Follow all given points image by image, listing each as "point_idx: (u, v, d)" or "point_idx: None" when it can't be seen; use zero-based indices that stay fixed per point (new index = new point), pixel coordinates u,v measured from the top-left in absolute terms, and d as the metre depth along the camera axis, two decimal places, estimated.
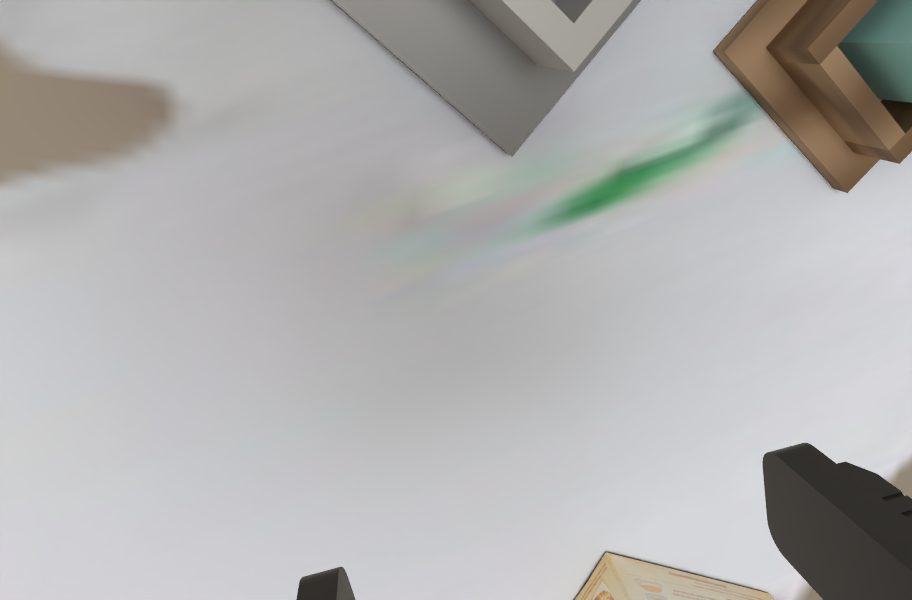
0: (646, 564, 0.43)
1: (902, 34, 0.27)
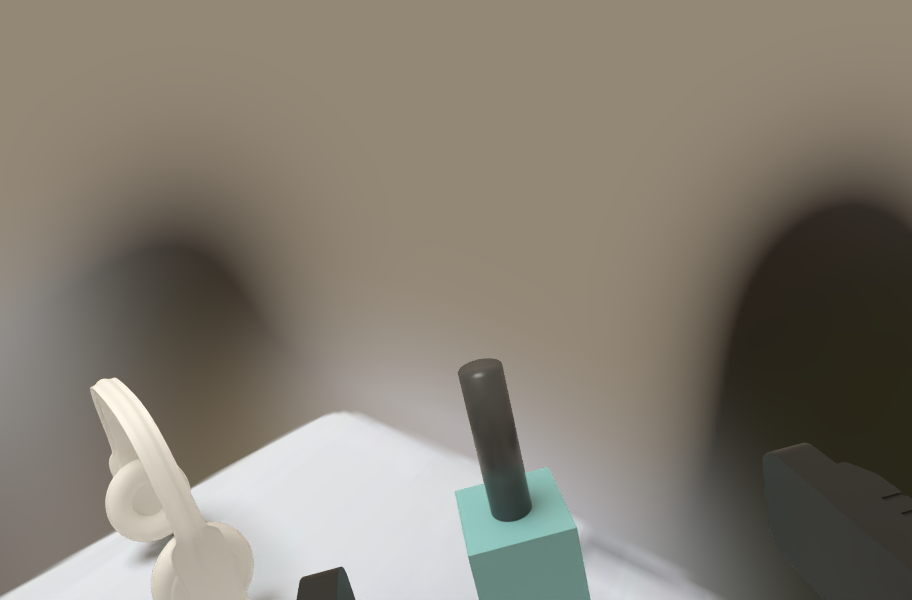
0: None
1: None
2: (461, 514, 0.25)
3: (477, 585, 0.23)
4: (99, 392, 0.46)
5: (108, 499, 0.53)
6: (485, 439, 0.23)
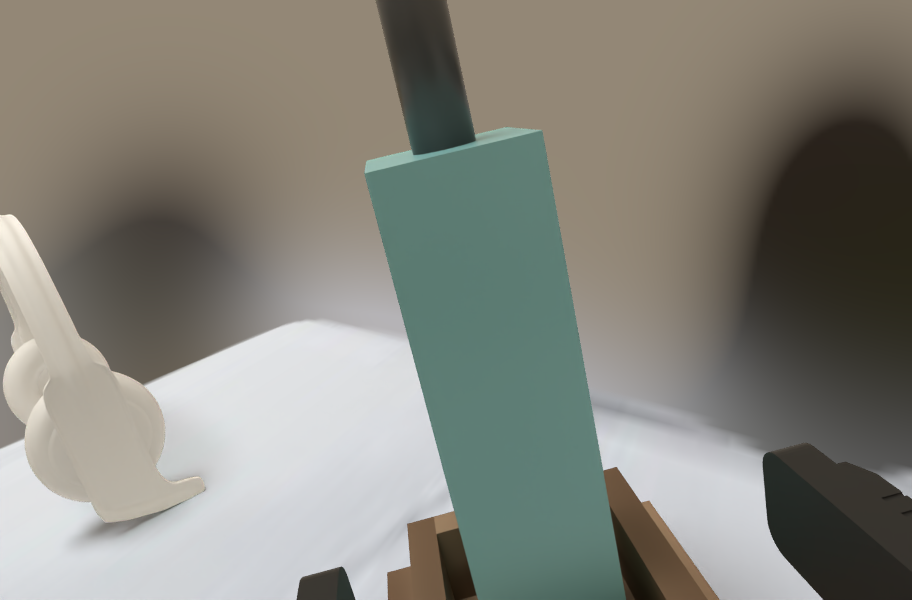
0: None
1: None
2: (368, 164, 0.16)
3: (383, 232, 0.14)
4: None
5: (5, 378, 0.44)
6: None
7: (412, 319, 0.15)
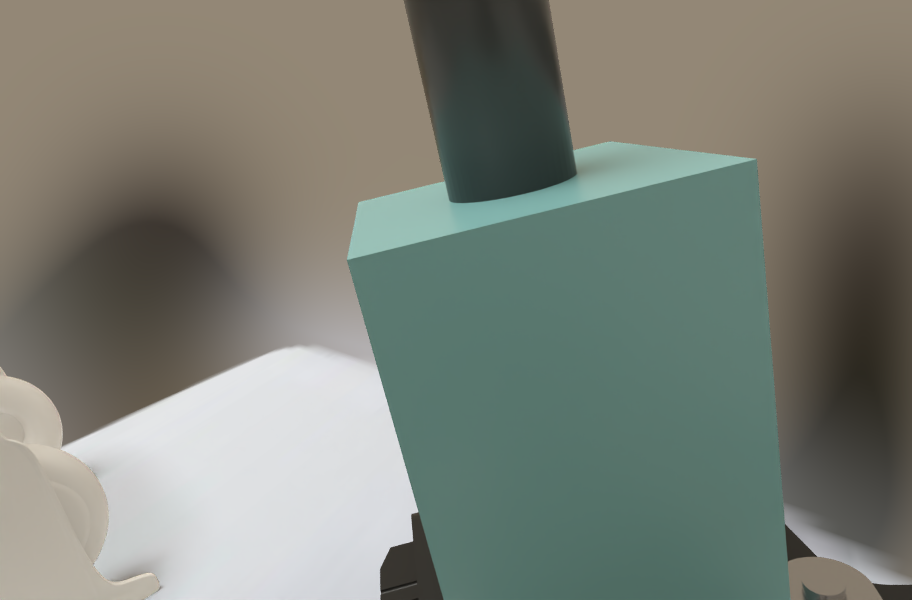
0: None
1: None
2: (361, 217, 0.08)
3: (390, 386, 0.06)
4: None
5: None
6: None
7: (451, 558, 0.07)
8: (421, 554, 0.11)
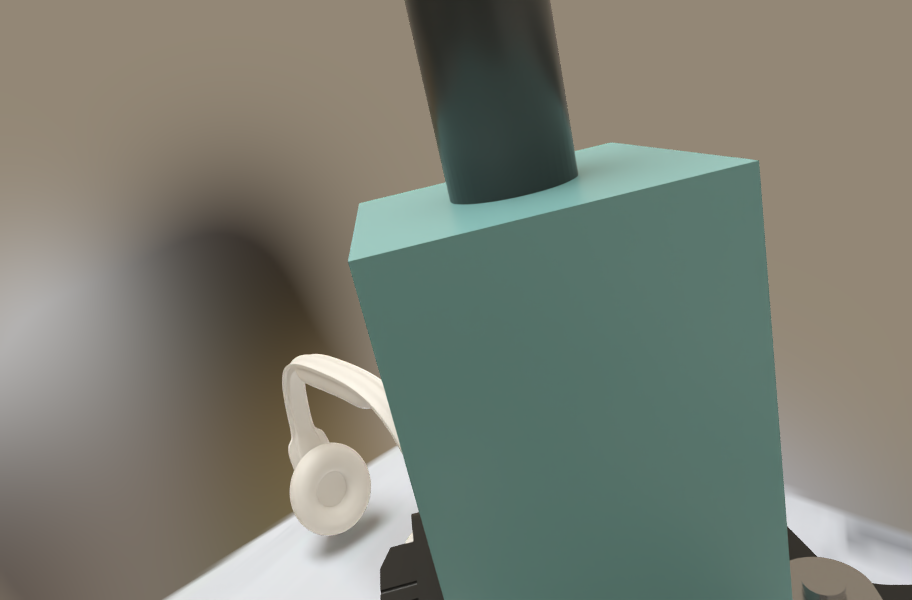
0: None
1: None
2: (361, 218, 0.08)
3: (391, 388, 0.06)
4: (314, 367, 0.42)
5: (295, 488, 0.48)
6: None
7: (453, 561, 0.07)
8: (421, 554, 0.11)
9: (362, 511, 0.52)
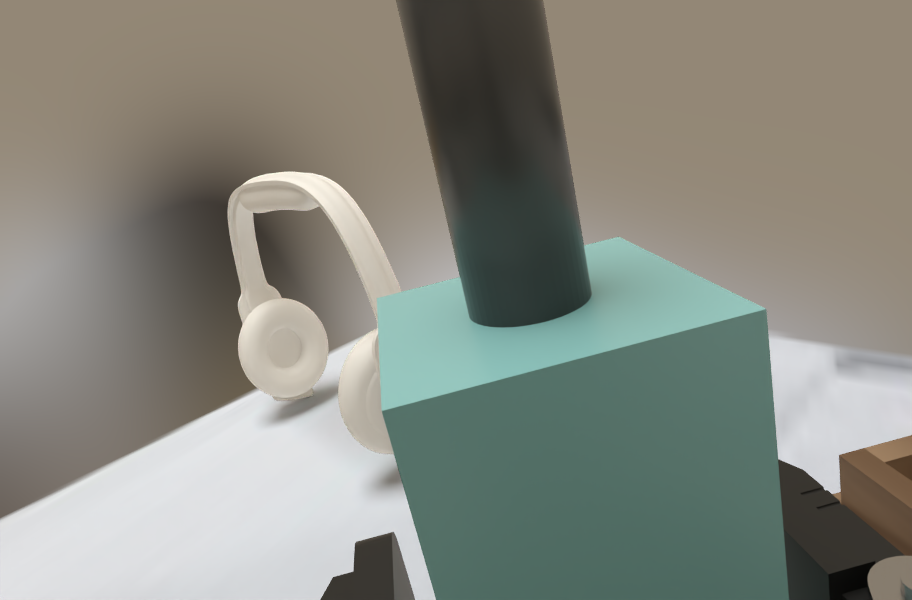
0: None
1: None
2: (383, 329, 0.08)
3: (420, 521, 0.07)
4: (255, 181, 0.38)
5: (243, 340, 0.45)
6: (442, 6, 0.07)
7: None
8: (359, 587, 0.10)
9: (318, 374, 0.48)
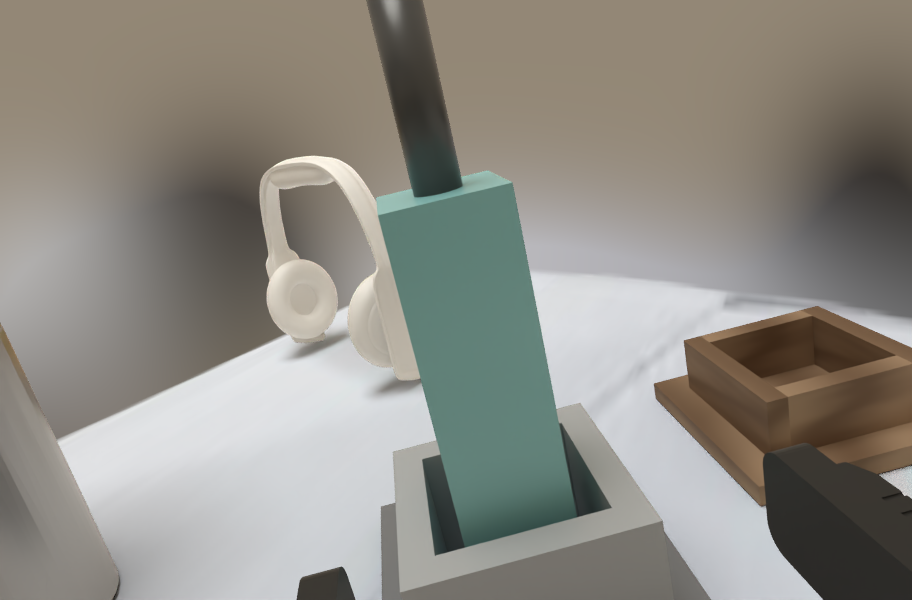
0: None
1: None
2: (379, 203, 0.20)
3: (391, 259, 0.19)
4: (283, 164, 0.50)
5: (271, 291, 0.57)
6: (399, 76, 0.18)
7: (413, 325, 0.19)
8: None
9: (330, 320, 0.60)
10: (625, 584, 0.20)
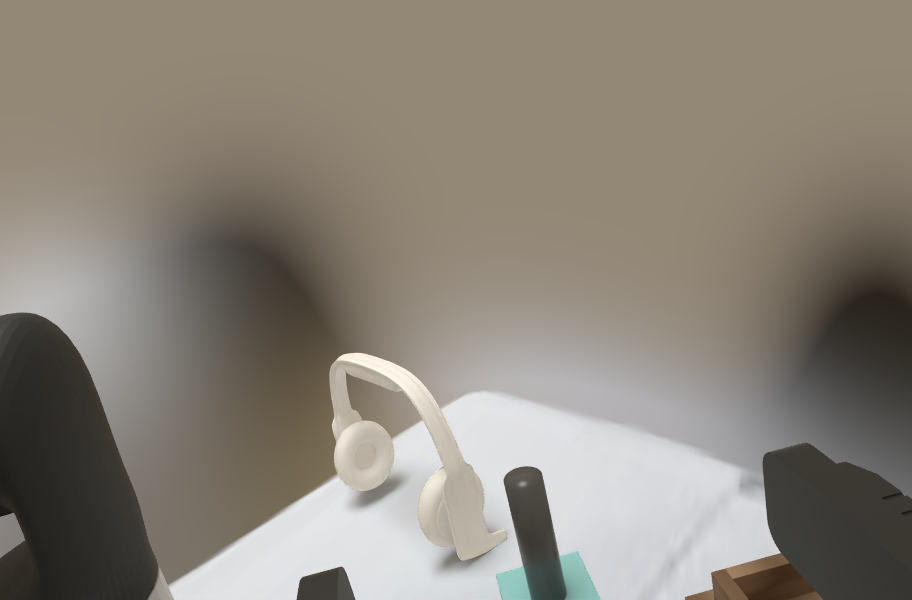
0: None
1: None
2: (504, 599, 0.28)
3: None
4: (357, 362, 0.58)
5: (338, 454, 0.65)
6: (528, 539, 0.26)
7: None
8: None
9: (388, 473, 0.68)
10: None
